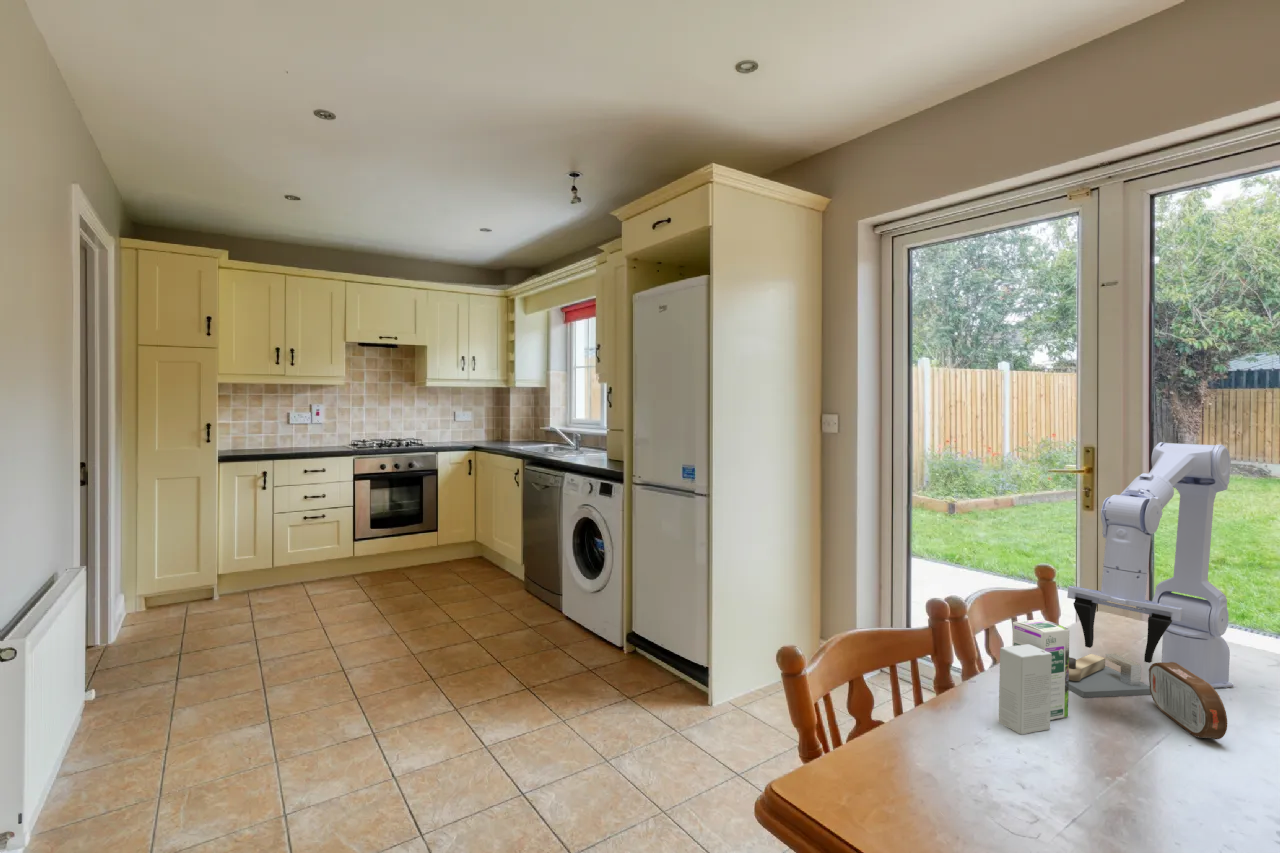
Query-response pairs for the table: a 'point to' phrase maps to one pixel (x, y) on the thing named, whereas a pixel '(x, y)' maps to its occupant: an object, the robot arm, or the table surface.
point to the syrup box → (1057, 644)
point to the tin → (1188, 700)
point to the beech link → (1085, 666)
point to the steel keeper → (1126, 669)
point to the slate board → (1106, 685)
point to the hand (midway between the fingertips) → (1117, 653)
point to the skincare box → (1025, 688)
